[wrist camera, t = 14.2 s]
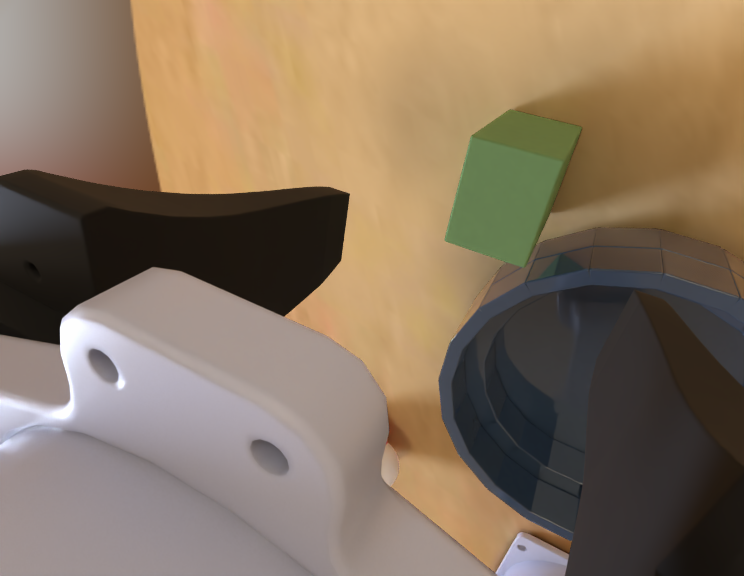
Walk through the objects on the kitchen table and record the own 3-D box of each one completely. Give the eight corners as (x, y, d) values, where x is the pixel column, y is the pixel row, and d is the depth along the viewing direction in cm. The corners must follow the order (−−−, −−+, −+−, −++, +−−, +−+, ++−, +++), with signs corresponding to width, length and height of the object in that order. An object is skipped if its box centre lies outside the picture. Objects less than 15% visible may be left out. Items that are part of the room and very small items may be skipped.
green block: (549, 215, 20) (524, 269, 15) (483, 195, 20) (443, 241, 16) (583, 126, 18) (565, 160, 13) (509, 108, 19) (470, 135, 14)
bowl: (697, 520, 23) (709, 611, 19) (442, 404, 27) (412, 462, 23) (905, 296, 16) (983, 375, 12) (514, 181, 20) (488, 216, 16)
